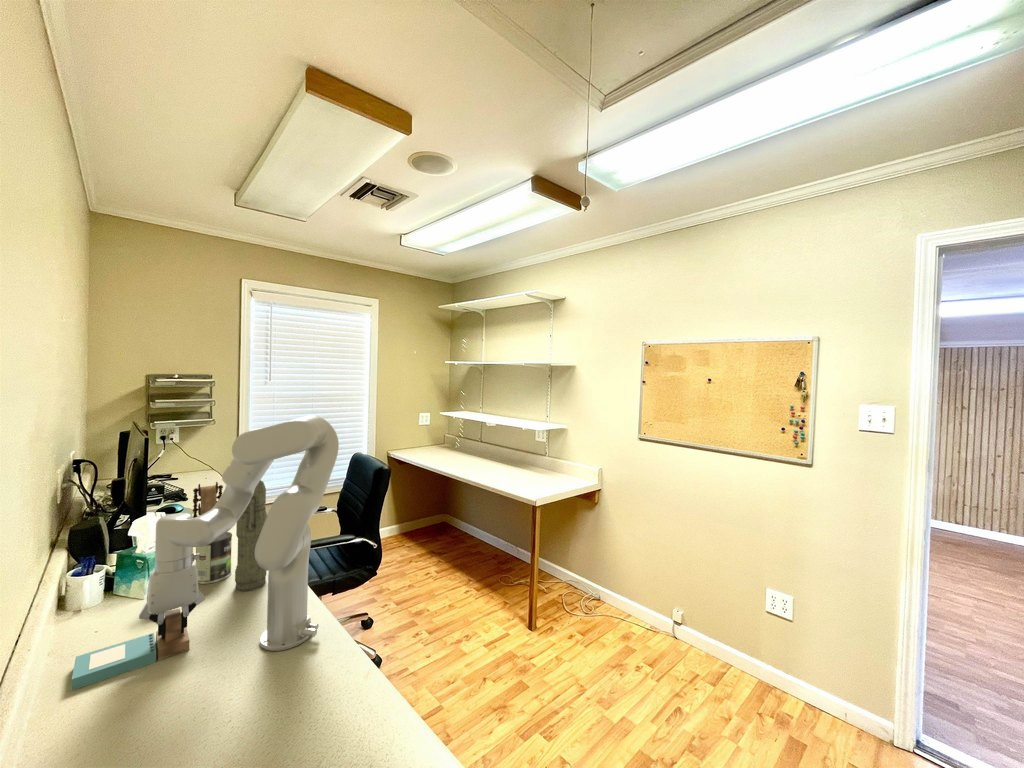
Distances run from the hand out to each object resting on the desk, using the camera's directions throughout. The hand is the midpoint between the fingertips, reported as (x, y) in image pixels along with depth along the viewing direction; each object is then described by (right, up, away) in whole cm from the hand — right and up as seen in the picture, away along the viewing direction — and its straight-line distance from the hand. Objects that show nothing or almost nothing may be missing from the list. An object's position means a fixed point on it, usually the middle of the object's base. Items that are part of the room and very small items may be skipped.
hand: (172, 633), depth 105 cm
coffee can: (-17, -3, +37) cm, 41 cm away
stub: (0, -3, 0) cm, 3 cm away
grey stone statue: (0, -4, +32) cm, 32 cm away
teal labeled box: (-8, -3, -7) cm, 11 cm away
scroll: (-57, -3, +88) cm, 105 cm away
